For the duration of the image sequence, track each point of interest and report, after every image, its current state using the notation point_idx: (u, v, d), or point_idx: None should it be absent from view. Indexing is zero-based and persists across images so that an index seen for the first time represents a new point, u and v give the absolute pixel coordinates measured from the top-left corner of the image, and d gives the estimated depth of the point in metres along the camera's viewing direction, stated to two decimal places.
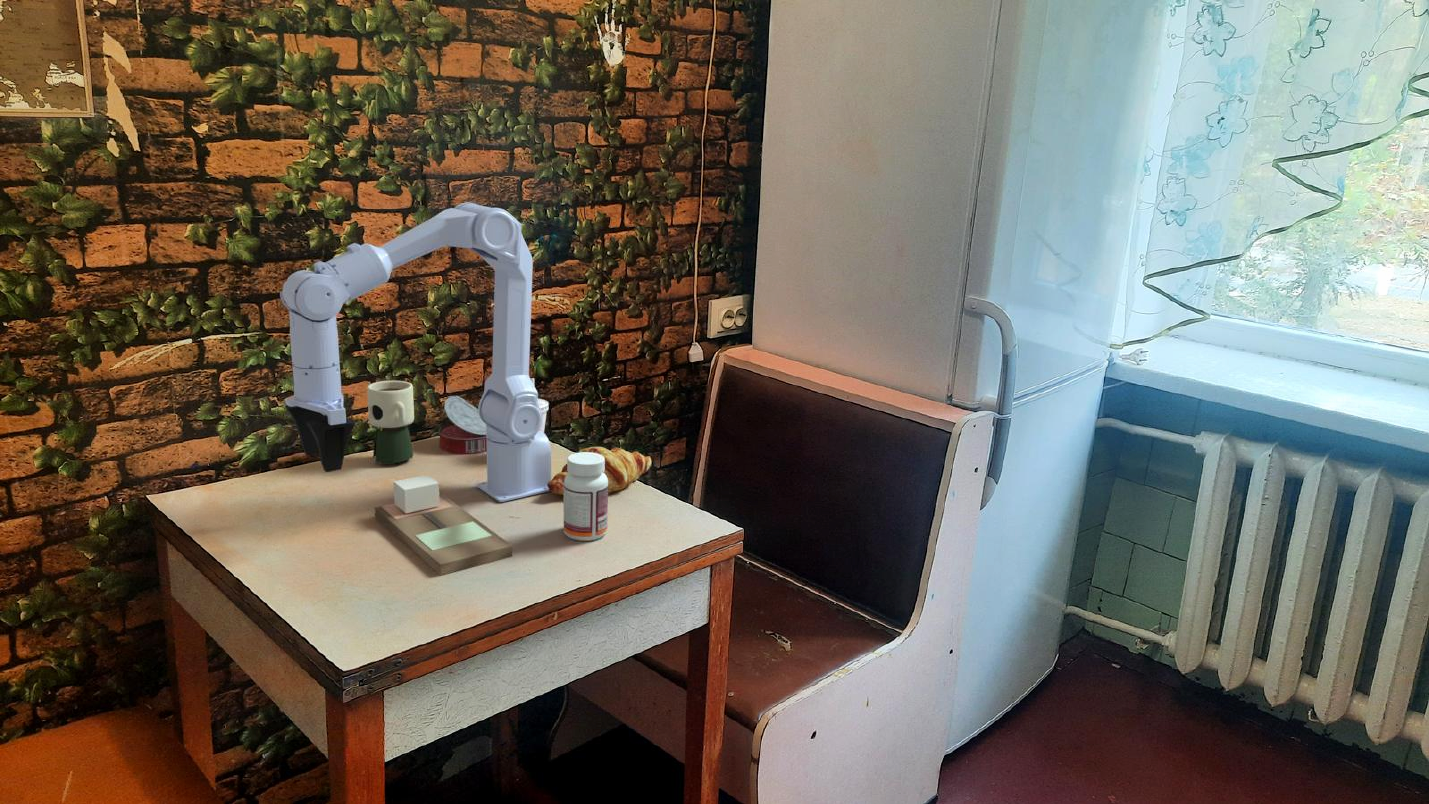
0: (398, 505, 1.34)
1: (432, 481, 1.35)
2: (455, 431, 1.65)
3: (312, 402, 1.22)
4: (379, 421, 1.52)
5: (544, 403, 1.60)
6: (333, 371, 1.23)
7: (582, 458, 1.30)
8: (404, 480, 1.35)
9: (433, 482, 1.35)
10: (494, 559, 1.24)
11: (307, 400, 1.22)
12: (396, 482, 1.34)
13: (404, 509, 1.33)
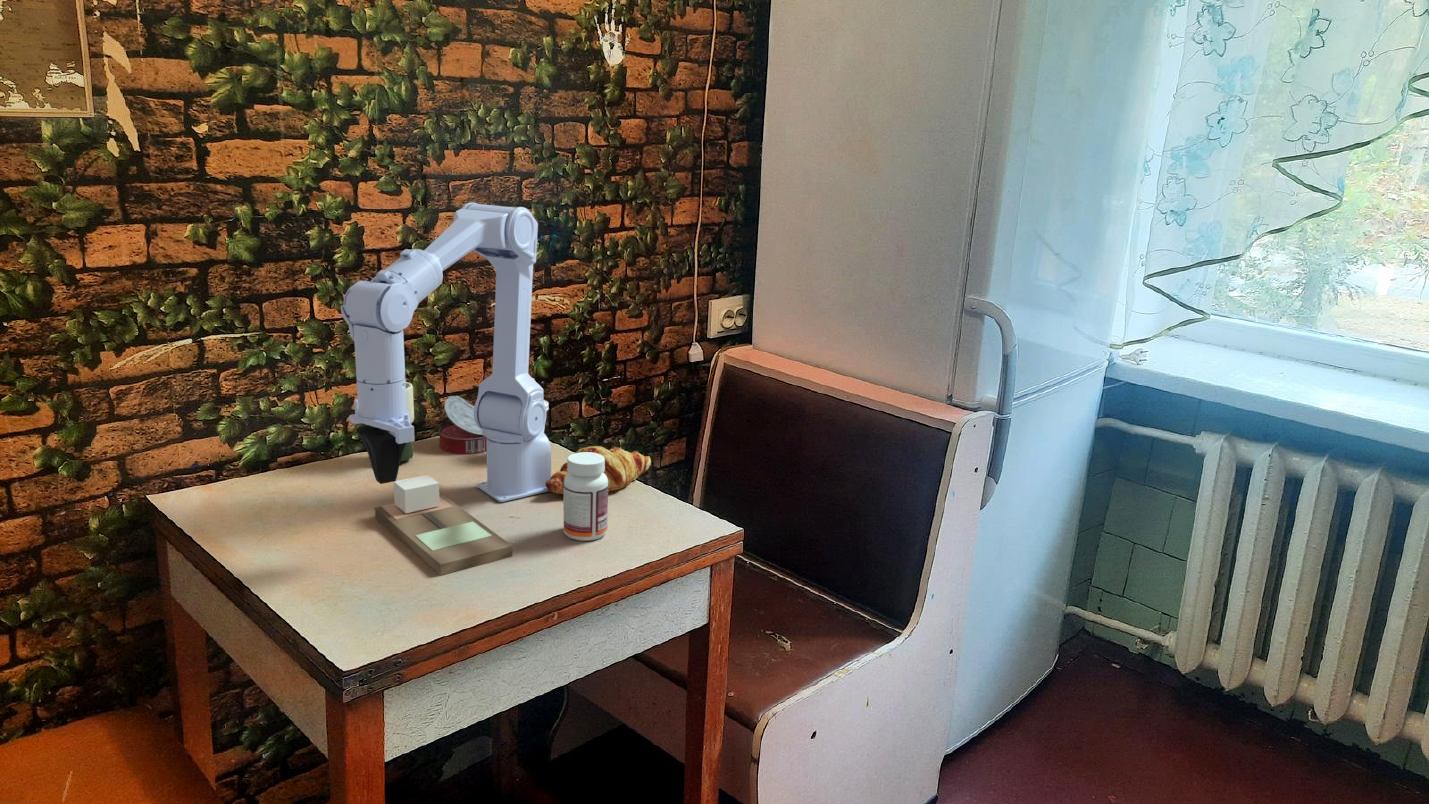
0: (398, 505, 1.34)
1: (432, 481, 1.35)
2: (455, 431, 1.65)
3: (378, 419, 1.16)
4: None
5: (544, 403, 1.60)
6: (399, 386, 1.16)
7: (582, 458, 1.30)
8: (404, 480, 1.35)
9: (433, 482, 1.35)
10: (494, 559, 1.24)
11: (372, 417, 1.16)
12: (396, 482, 1.34)
13: (404, 509, 1.33)
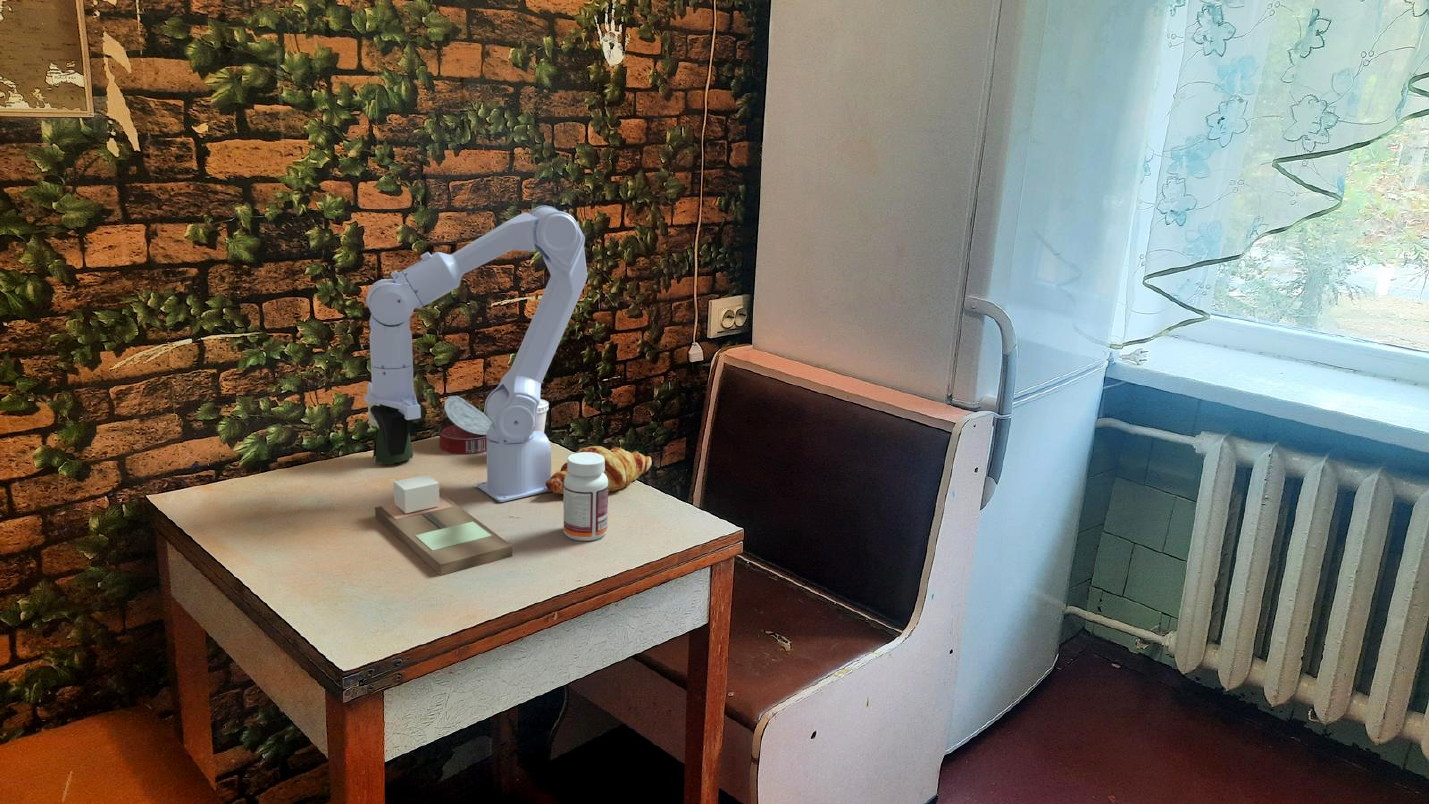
0: (398, 505, 1.34)
1: (432, 481, 1.35)
2: (455, 431, 1.65)
3: (389, 399, 1.34)
4: None
5: (544, 403, 1.60)
6: (408, 371, 1.35)
7: (583, 458, 1.30)
8: (404, 480, 1.35)
9: (433, 482, 1.35)
10: (494, 559, 1.24)
11: (384, 397, 1.34)
12: (396, 482, 1.34)
13: (404, 509, 1.33)
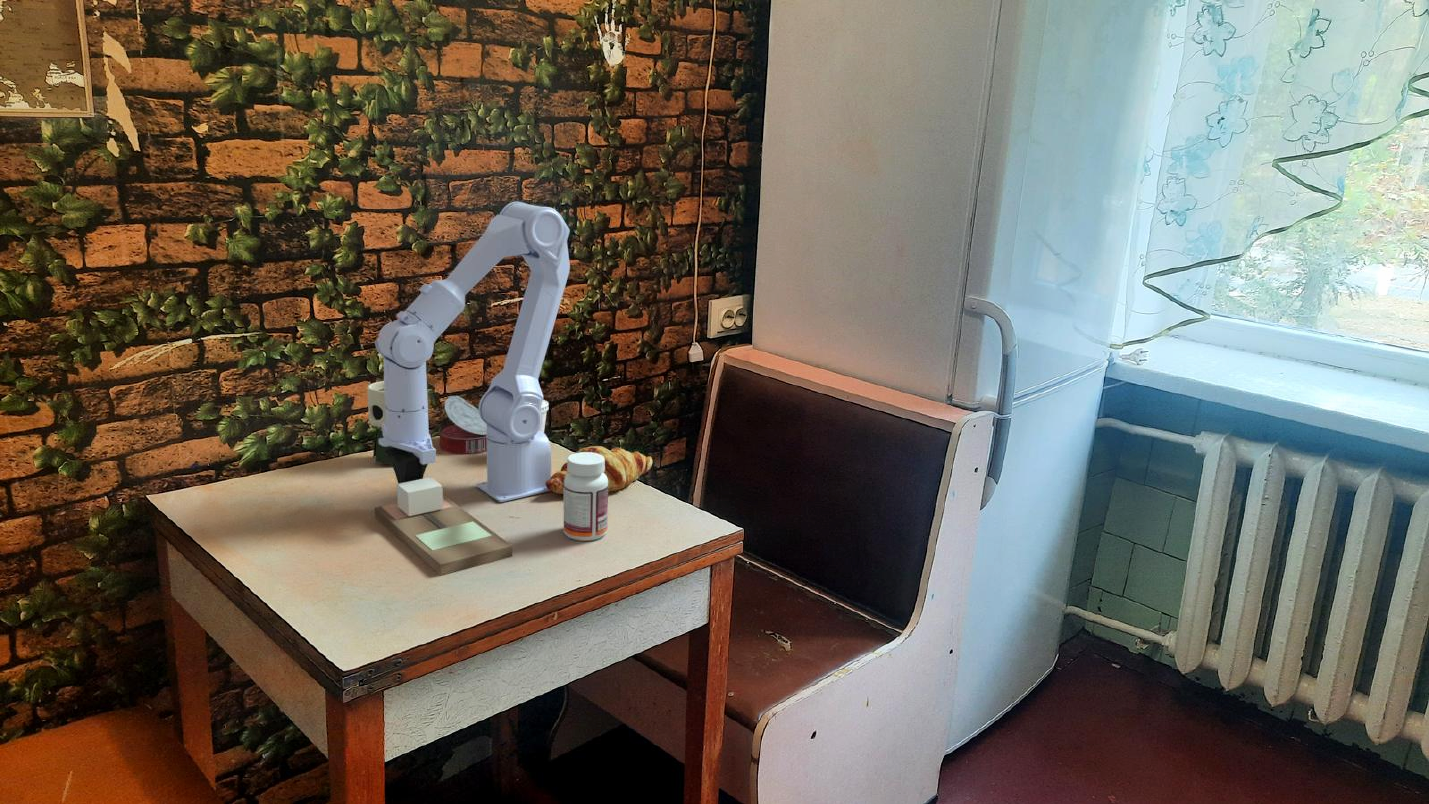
0: (401, 508, 1.34)
1: (436, 483, 1.35)
2: (455, 431, 1.65)
3: (404, 442, 1.32)
4: (379, 421, 1.52)
5: (544, 403, 1.60)
6: (423, 413, 1.33)
7: (583, 458, 1.30)
8: (407, 483, 1.34)
9: (437, 485, 1.34)
10: (494, 559, 1.24)
11: (399, 440, 1.32)
12: (399, 485, 1.33)
13: (407, 512, 1.32)
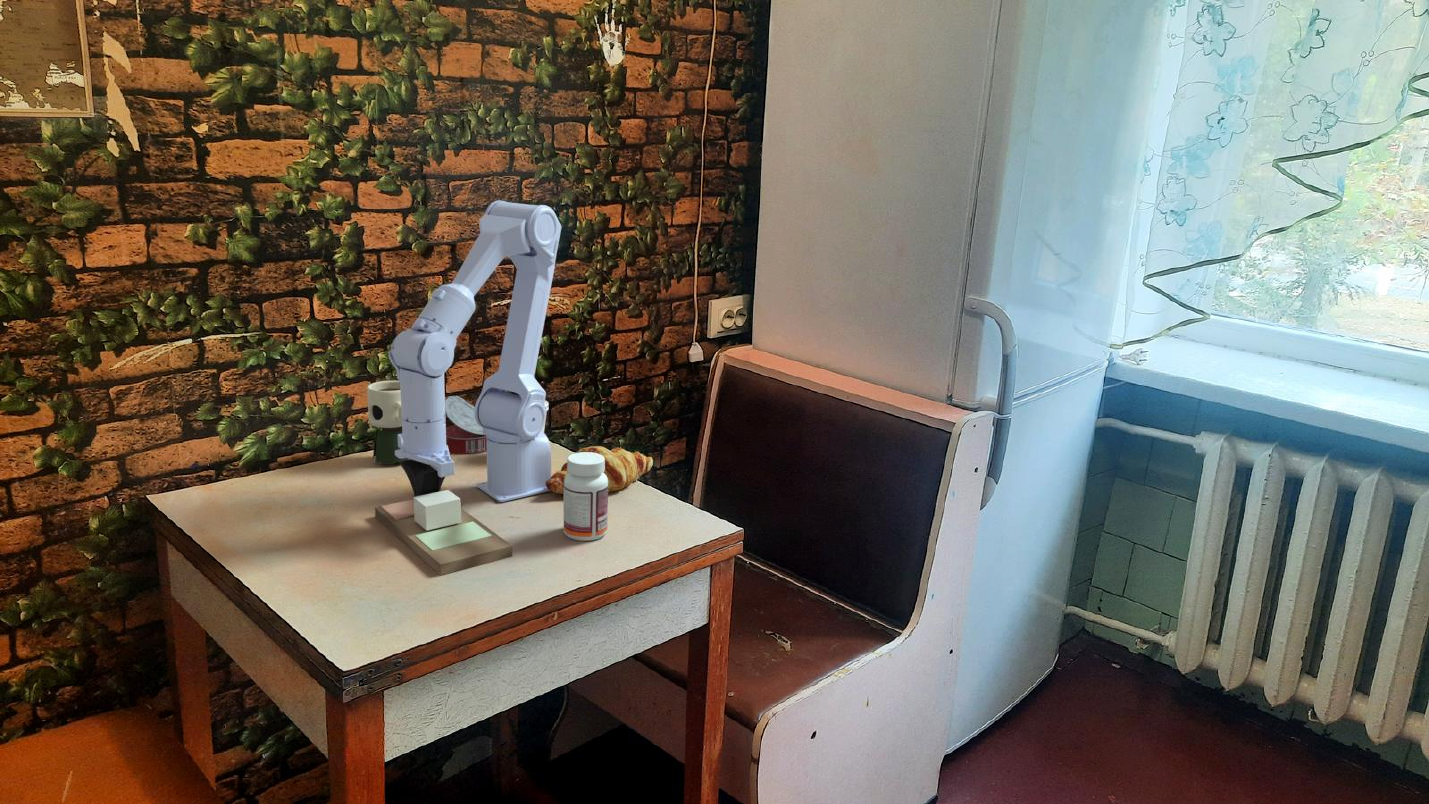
0: (418, 522, 1.29)
1: (454, 497, 1.30)
2: (455, 431, 1.65)
3: (421, 454, 1.28)
4: (379, 421, 1.52)
5: None
6: (440, 424, 1.28)
7: (582, 458, 1.30)
8: (424, 496, 1.30)
9: (455, 498, 1.30)
10: (494, 559, 1.24)
11: (416, 452, 1.28)
12: (416, 498, 1.29)
13: (425, 526, 1.28)
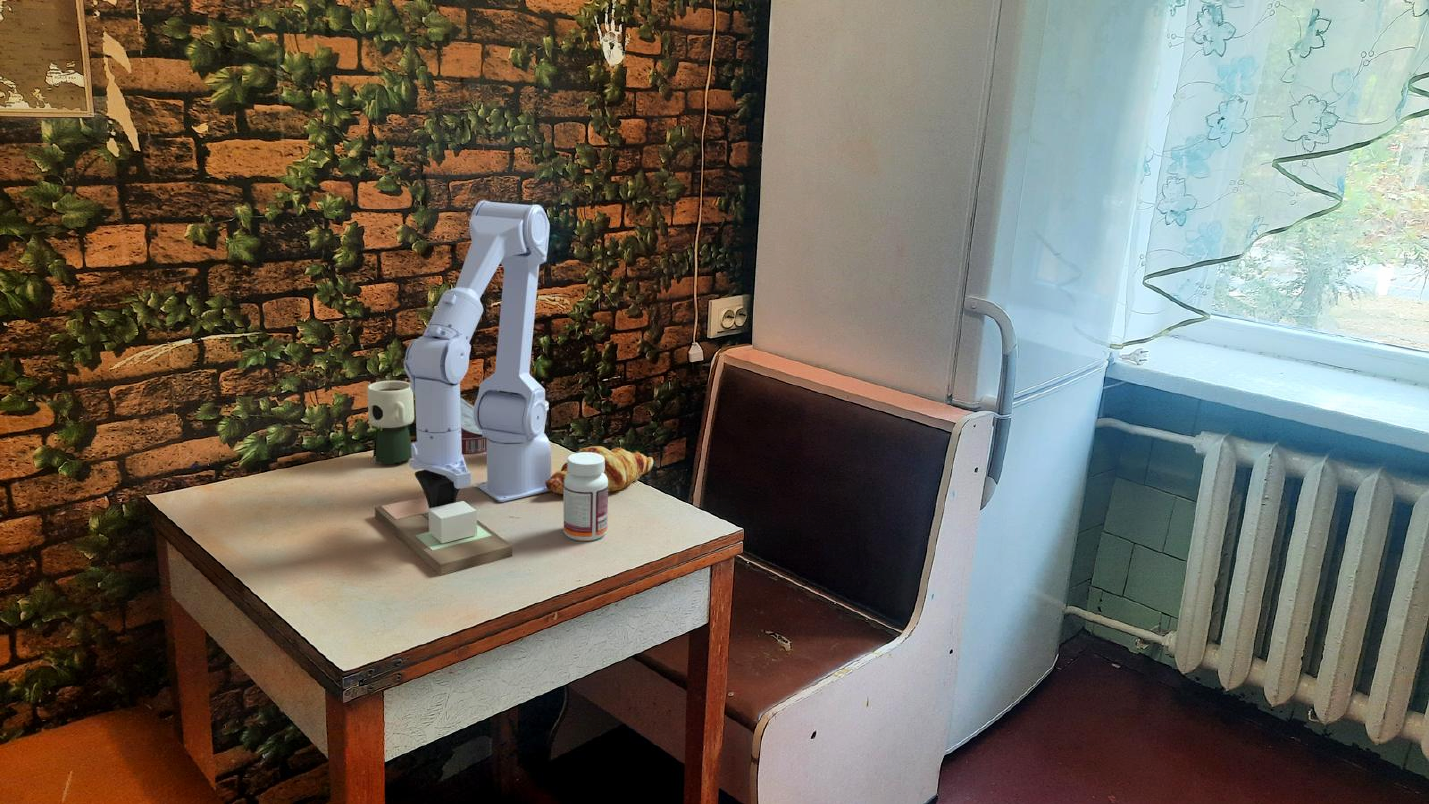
0: (433, 534, 1.26)
1: (470, 508, 1.27)
2: None
3: (436, 465, 1.24)
4: (379, 421, 1.52)
5: None
6: (456, 434, 1.25)
7: (582, 458, 1.30)
8: (439, 507, 1.26)
9: (471, 510, 1.26)
10: (494, 559, 1.24)
11: (431, 463, 1.24)
12: (431, 509, 1.26)
13: (440, 539, 1.24)
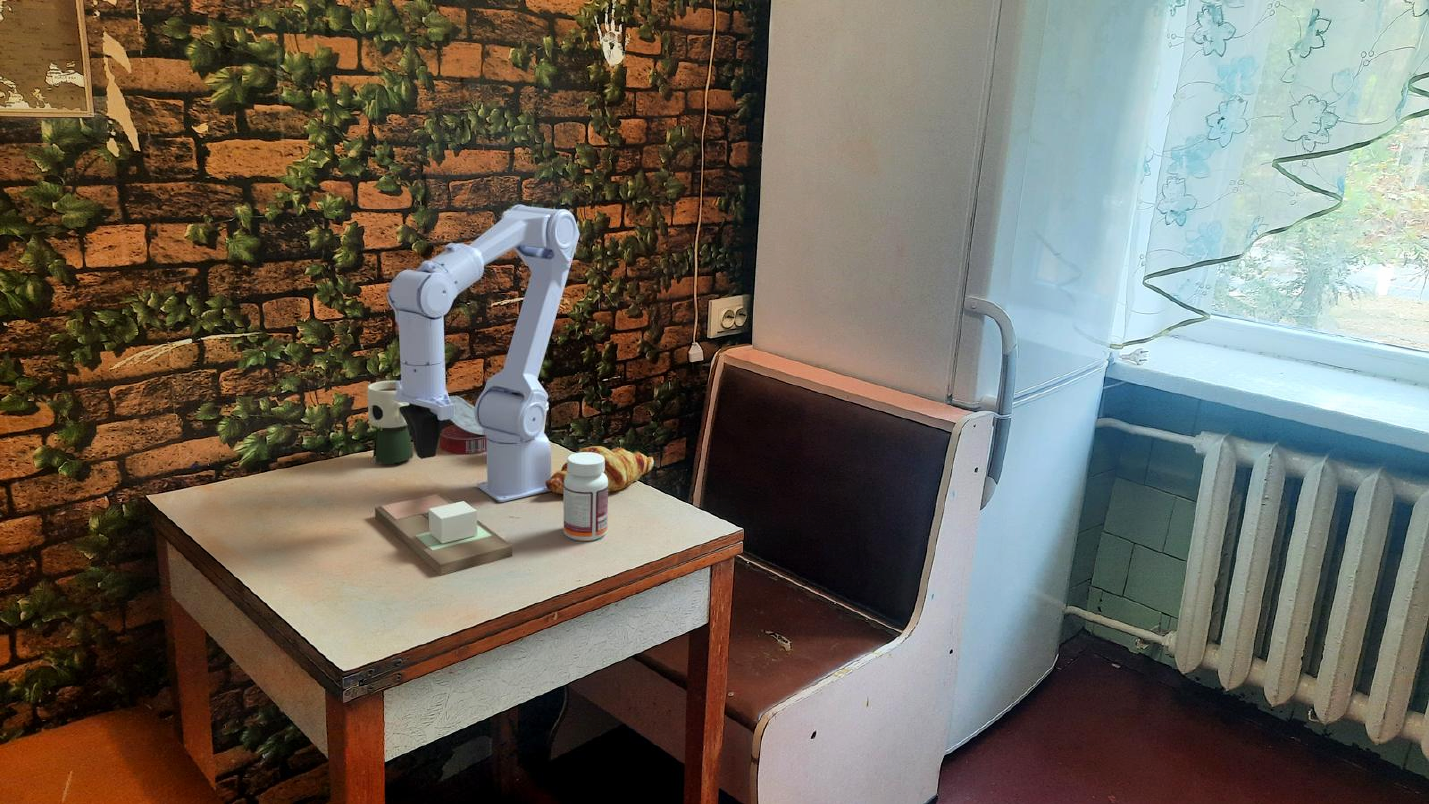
0: (433, 534, 1.26)
1: (470, 508, 1.27)
2: (455, 431, 1.65)
3: (420, 398, 1.25)
4: (379, 421, 1.52)
5: None
6: (440, 368, 1.26)
7: (582, 458, 1.30)
8: (440, 507, 1.26)
9: (471, 510, 1.26)
10: (494, 559, 1.24)
11: (415, 396, 1.25)
12: (431, 510, 1.26)
13: (440, 539, 1.24)
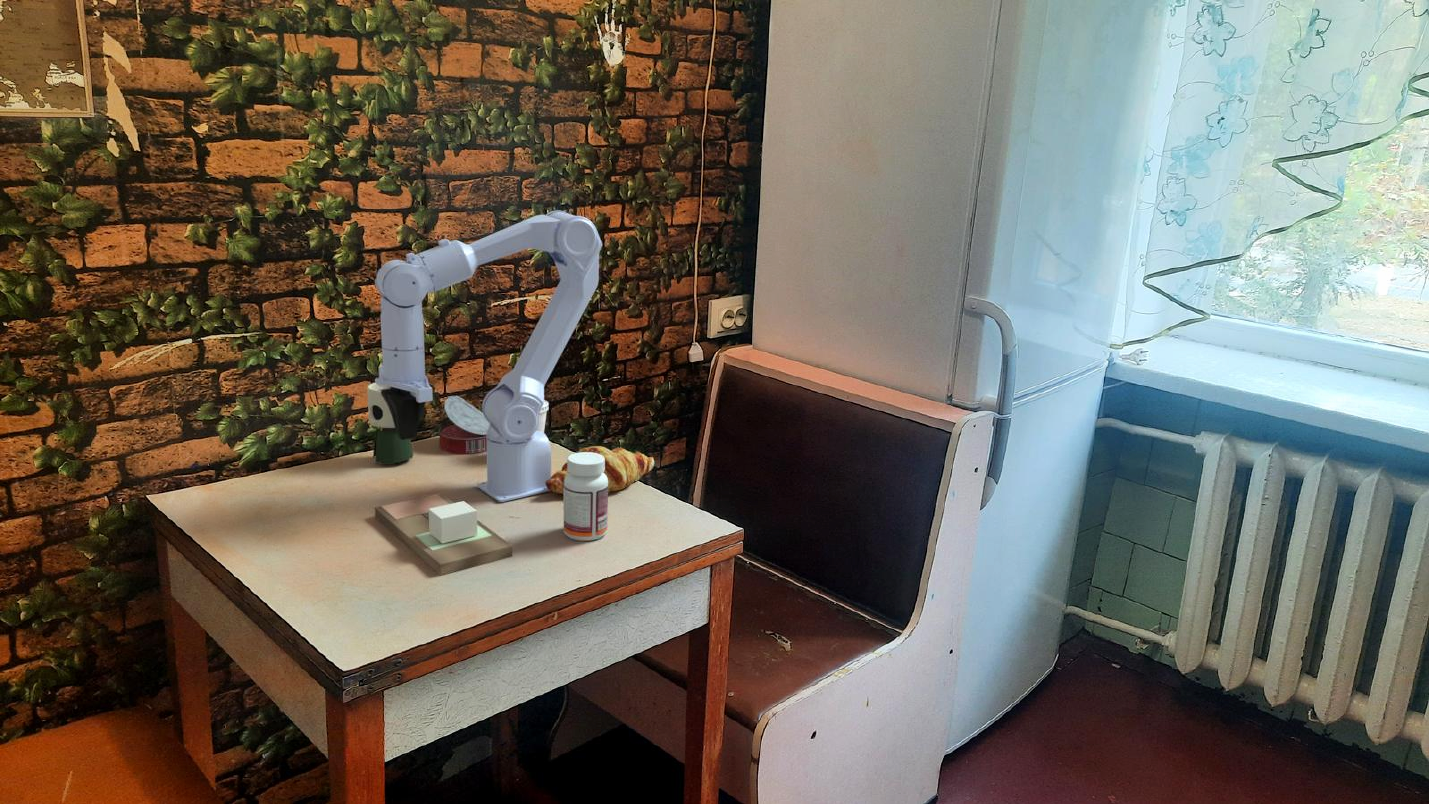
0: (433, 534, 1.26)
1: (470, 508, 1.27)
2: (455, 431, 1.65)
3: (400, 382, 1.32)
4: (379, 421, 1.52)
5: (544, 403, 1.60)
6: (419, 353, 1.33)
7: (583, 458, 1.30)
8: (440, 507, 1.26)
9: (471, 510, 1.26)
10: (494, 559, 1.24)
11: (396, 380, 1.32)
12: (431, 510, 1.26)
13: (440, 539, 1.24)
